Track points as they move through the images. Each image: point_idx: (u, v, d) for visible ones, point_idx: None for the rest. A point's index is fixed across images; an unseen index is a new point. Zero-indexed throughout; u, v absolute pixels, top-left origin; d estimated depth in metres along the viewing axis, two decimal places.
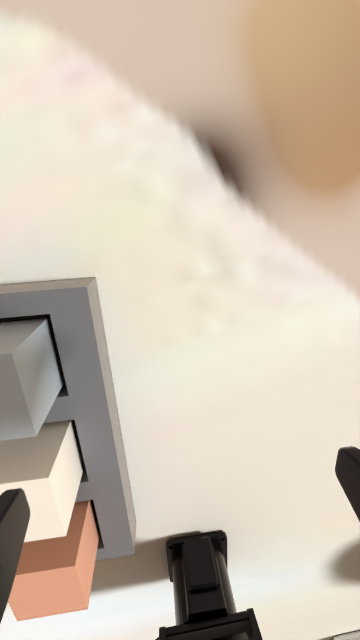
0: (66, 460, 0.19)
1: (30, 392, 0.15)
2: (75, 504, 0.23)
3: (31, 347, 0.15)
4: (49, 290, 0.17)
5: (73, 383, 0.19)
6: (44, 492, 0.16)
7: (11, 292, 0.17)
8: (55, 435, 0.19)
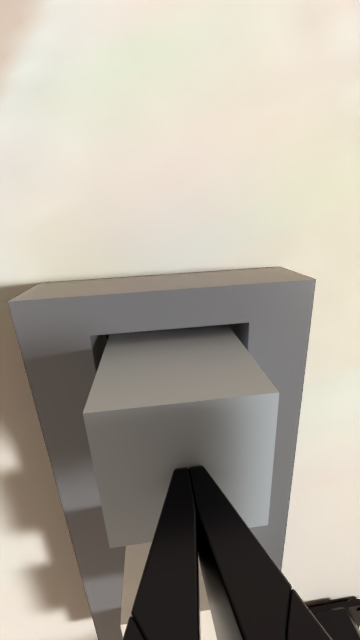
0: None
1: None
2: None
3: None
4: (257, 284, 0.10)
5: None
6: None
7: (196, 287, 0.10)
8: None
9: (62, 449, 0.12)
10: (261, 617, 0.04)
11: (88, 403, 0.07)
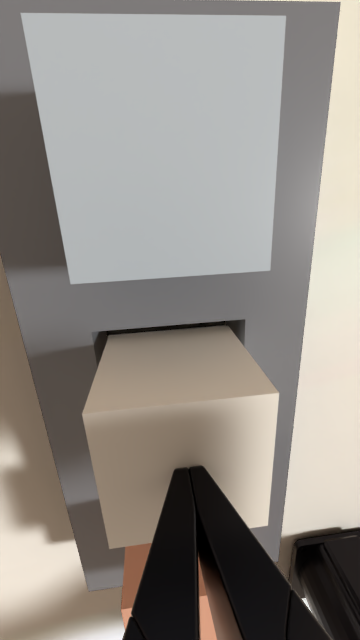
0: None
1: None
2: None
3: None
4: (265, 4, 0.08)
5: None
6: (259, 429, 0.08)
7: (186, 4, 0.08)
8: (221, 341, 0.10)
9: (19, 255, 0.09)
10: (261, 617, 0.04)
11: (33, 27, 0.05)
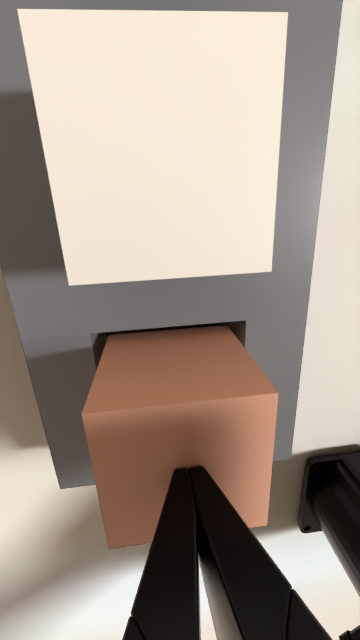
0: None
1: None
2: (205, 331, 0.11)
3: None
4: None
5: None
6: (262, 83, 0.06)
7: None
8: None
9: None
10: (261, 617, 0.04)
11: None
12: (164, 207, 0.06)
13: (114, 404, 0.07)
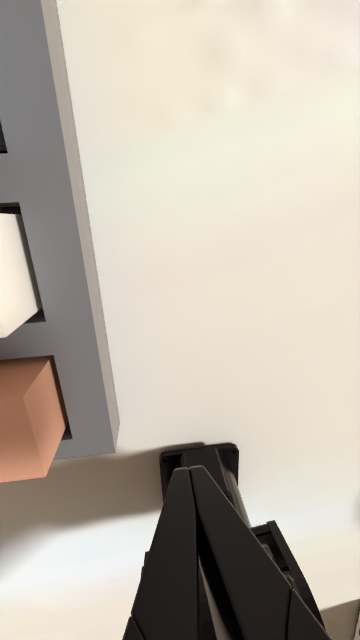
0: (13, 247, 0.13)
1: None
2: None
3: None
4: None
5: (13, 128, 0.12)
6: None
7: None
8: None
9: None
10: (261, 617, 0.04)
11: None
12: None
13: None
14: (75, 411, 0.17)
